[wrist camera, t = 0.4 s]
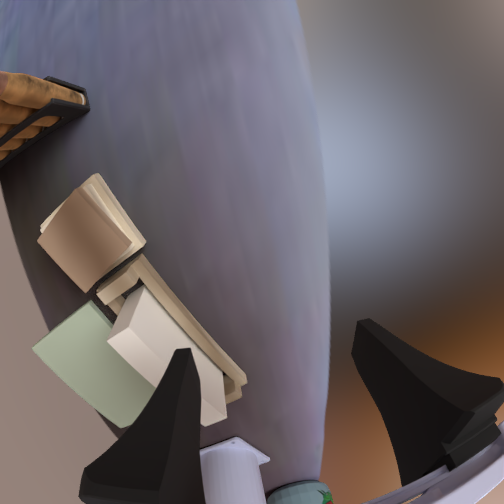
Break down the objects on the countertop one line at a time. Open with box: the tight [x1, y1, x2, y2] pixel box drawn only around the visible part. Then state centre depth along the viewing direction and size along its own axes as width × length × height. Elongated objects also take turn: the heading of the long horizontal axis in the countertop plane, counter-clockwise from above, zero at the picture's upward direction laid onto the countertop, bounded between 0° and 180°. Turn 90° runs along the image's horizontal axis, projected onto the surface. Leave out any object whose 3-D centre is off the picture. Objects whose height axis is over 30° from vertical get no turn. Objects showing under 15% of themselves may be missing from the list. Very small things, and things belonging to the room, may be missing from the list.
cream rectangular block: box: [107, 284, 227, 427], centre depth 20 cm, size 2×10×6 cm, turn 32°
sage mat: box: [32, 300, 156, 428], centre depth 23 cm, size 10×13×1 cm
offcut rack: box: [37, 173, 247, 404], centre depth 20 cm, size 6×20×3 cm, turn 31°
